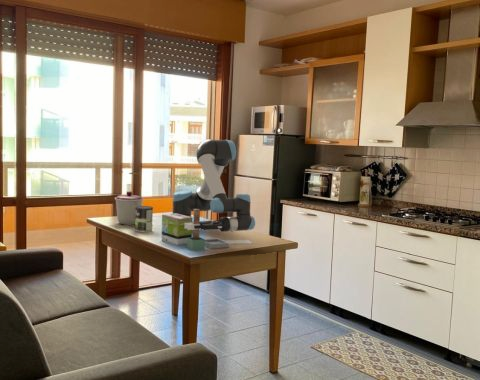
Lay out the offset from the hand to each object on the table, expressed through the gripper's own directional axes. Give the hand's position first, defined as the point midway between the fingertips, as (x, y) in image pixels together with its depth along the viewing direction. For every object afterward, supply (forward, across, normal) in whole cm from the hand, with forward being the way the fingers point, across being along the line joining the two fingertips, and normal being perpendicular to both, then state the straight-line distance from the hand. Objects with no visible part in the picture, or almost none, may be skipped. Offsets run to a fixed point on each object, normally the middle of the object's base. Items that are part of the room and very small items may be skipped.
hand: (186, 226), depth 235 cm
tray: (-17, +3, -12) cm, 21 cm away
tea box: (-2, +18, -12) cm, 22 cm away
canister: (+6, +79, -12) cm, 80 cm away
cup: (-5, 0, -12) cm, 13 cm away
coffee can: (+4, +55, -12) cm, 56 cm away
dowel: (-5, 0, -12) cm, 13 cm away
